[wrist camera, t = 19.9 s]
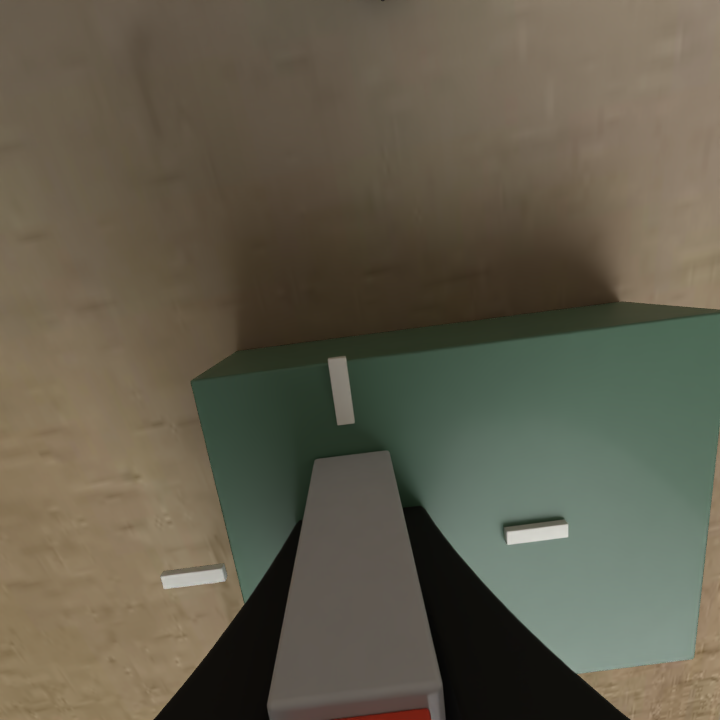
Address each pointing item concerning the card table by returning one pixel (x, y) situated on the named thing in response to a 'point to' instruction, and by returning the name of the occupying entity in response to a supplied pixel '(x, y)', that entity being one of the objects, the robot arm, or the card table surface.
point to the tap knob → (355, 605)
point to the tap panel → (500, 460)
